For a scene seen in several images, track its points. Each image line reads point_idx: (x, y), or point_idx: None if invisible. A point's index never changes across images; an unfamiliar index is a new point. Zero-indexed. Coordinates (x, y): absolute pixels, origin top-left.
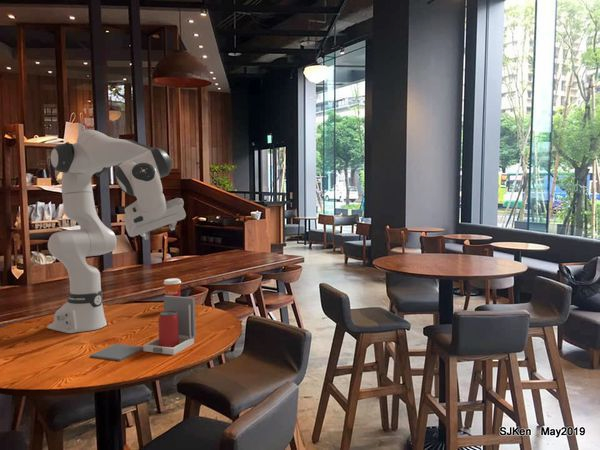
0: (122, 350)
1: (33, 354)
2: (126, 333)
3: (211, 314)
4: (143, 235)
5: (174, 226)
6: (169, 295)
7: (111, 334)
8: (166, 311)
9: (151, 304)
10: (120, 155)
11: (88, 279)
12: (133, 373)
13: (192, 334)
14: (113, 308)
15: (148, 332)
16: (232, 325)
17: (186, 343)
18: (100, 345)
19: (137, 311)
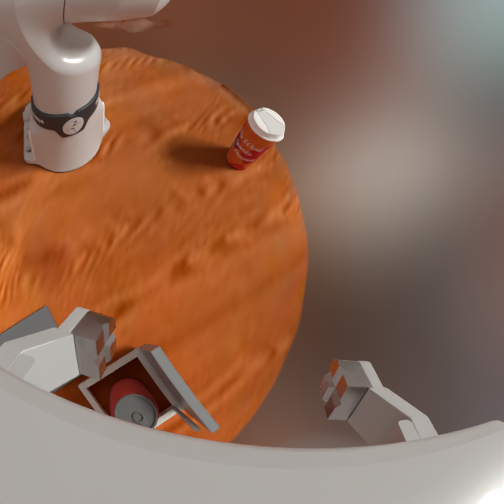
0: None
1: None
2: (93, 238)
3: (284, 238)
4: (49, 390)
5: (361, 422)
6: (243, 145)
7: (69, 222)
8: (137, 396)
9: (224, 100)
10: None
11: (50, 87)
12: None
13: (182, 407)
14: (162, 76)
15: (131, 265)
16: (286, 338)
17: (159, 423)
18: (26, 281)
19: (183, 116)
